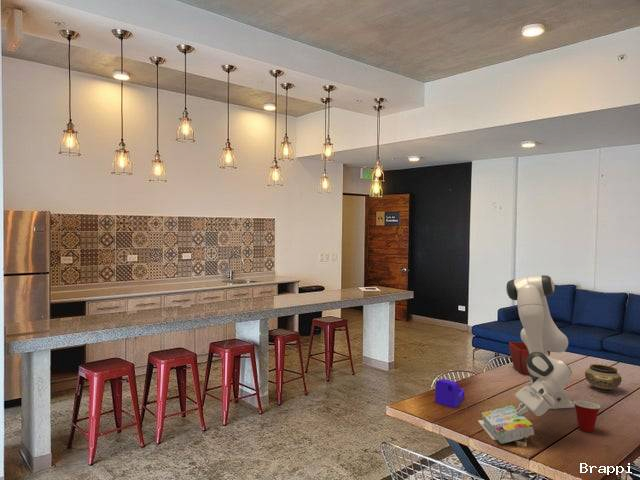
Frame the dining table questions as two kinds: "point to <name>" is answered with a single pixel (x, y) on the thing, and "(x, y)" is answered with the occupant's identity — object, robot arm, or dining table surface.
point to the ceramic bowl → (603, 377)
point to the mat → (487, 430)
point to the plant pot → (520, 356)
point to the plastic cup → (586, 415)
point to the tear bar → (521, 442)
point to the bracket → (448, 393)
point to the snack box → (507, 424)
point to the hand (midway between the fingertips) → (518, 413)
